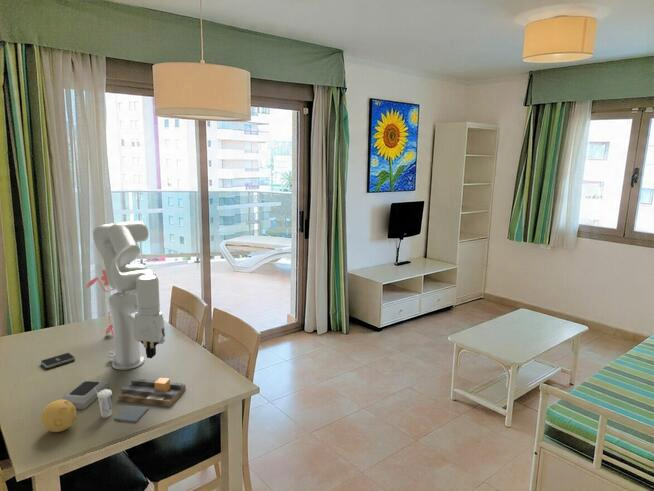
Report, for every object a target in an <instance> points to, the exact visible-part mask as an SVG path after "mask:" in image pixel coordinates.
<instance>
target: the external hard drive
mask: <svg viewBox="0 0 654 491" xmlns="http://www.w3.org/2000/svg"><path fill="white" fill-rule="evenodd" d="M75 358H76V357H75V356H74V355H73V354H72V353H70V352H65V353H62V354H59V355H55V356H53V357H49V358H46V359H42V360H40V365H41V366H43V368H45V369H46V370H50V369H54V368H56V367H60V366H63V365H66V364H69V363H73V362H75V361H76V360H75Z"/></svg>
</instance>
